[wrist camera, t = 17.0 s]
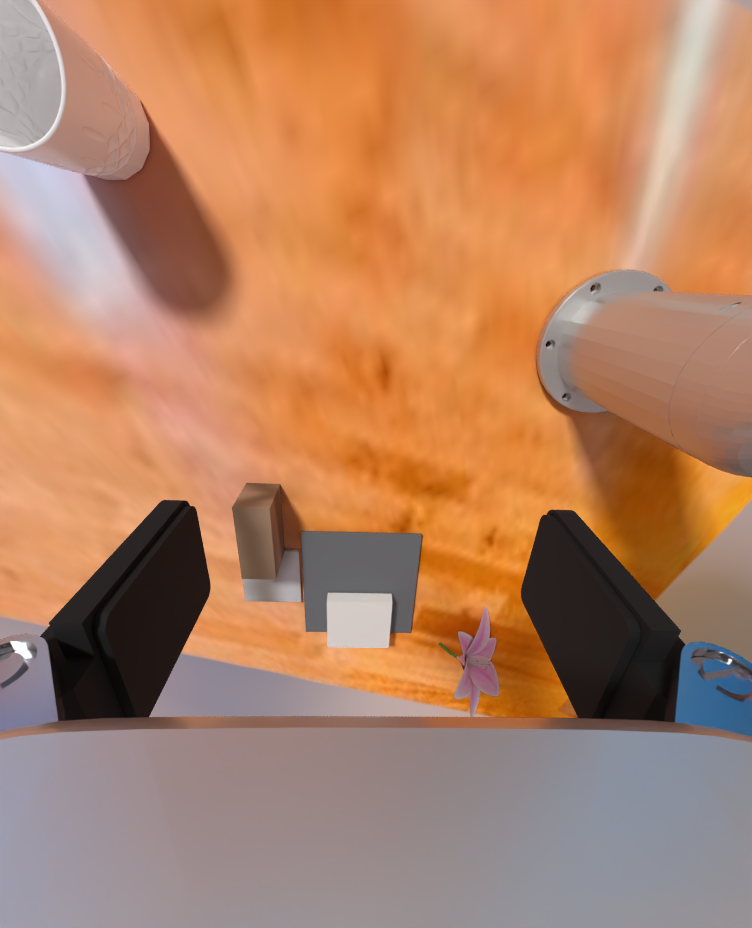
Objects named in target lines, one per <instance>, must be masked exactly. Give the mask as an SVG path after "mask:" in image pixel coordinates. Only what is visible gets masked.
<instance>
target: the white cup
mask: <svg viewBox="0 0 752 928" xmlns="http://www.w3.org/2000/svg"><path fill="white" fill-rule="evenodd" d="M149 151H150V134H149V123H148V120H147V118H146V115H145V113H144V110H143V107H142V105H141V102H140V100H139V98H138V96H137V95H136V94H135V93H134V92H133V90H132V89H131V88H130V87H129V86H128V84H127V83H126V82H125V81H124V79H123V78H122V77H121V76H120V75H119V74H118V73H117V72H116V71H115V70H114V69H113V68H111V67H110V65H109V64H108V63H107V62H106V61H105V60H104V59H103V58H102V57H101V56H100V55H99V54H98V53H97V52H96V51H95V50H94V49H93V48H92V47H91V46H90V45H89V44H88V43H87V42H86V41H85V40H84V39H83V38H82V37H81V36H80V35H79V34H78V33H77V32H76V31H75V30H74V29H73V28H72V27H71V26H70V25H69V24H67V23H66V22H65V21H64V20H63V19H62V18H61V17H60V16H59V15H58V14H57V13H56V12H55V11H54V10H52V9H51V8H50V7H49V6H48V5H47V4H46V3H45V2H44V1H43V0H0V152H4V153H7V154H11V155H15V156H18V157H22V158H25V159H29V160H32V161H35V162H39V163H42V164H46V165H49V166H53V167H56V168H60V169H64V170H69V171H72V172H76V173H80V174H85V175H92V176H95V177H99V178H102V179H105V180H126V179H128V178H129V177H131V176H132V175H134V174H135V173H137V172H138V171H140V170H141V169H142V167H143V165H144V163H145V160H146V158H147V156H148V153H149Z"/></svg>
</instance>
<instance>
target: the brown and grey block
mask: <svg viewBox="0 0 752 928" xmlns="http://www.w3.org/2000/svg"><path fill="white" fill-rule="evenodd" d="M232 510H233V517H234V525H235V532H236V539H237V546H238V553H239V561H240V568H241V575H242V579H243V586H244V593H245V600H246V601H275V602H301V601H302V594H301V575H300V556H299V549H285V545H284V531H283V518H282V504H281V490H280V484H260V483H246V485H245V487H244V488H243V490H242V492H241V493H240V495H239V497H238V499H237V500H236V502H235V504H234V505H233V507H232Z"/></svg>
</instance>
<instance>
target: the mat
mask: <svg viewBox="0 0 752 928" xmlns="http://www.w3.org/2000/svg"><path fill="white" fill-rule="evenodd" d="M421 539H422V534H413V533H368V532H323V531H301V543H302V563H303V582H304V601H305V621H306V632H327V596H328V593H382V594H392V614H391V626H390V633H411V625H412V616H413V608H414V599H415V591H416V582H417V574H418V565H419V556H420V548H421Z"/></svg>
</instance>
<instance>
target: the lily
mask: <svg viewBox="0 0 752 928" xmlns="http://www.w3.org/2000/svg"><path fill="white" fill-rule="evenodd" d="M458 636H459V641H460V645H461V649H462V653H463V655H462V656H457V655H455V654H453V653H452V652H450V651H449V650H448V649H447V648H445V647H444V646H443V645H442V644H441V643H439V645H440V646H441V647H442V648H443V649H444V650H446V651H447V652H448V653H449V654H451V655H452V656H454V657H456V658H457V659H459V660H460V662H461V665H462V667H463V670H464V672H463V675H462V677H461V679H460V682H459V684H458V686H457V688H456V691H455V694H454V698H455V699H463V698H466V697H468V696H469V698H470V715H471V717H474V715H475V712H476V709H477V705H478V702H479V697H480V691H482V692H483V693H485V694H487V695H490V696H494V697H497V696H498V695H499V682H498V677H497V672H496V669H495V667H494V665H493V663H492V662H491V661H490V660H491V658H492V656H493V653H494V650H495V647H496V642H497V640H496V638H489V636H490V621H489V614H488V609H487V607H486V606H485V608H484V612H483V616H482V619H481V623H480V626H479V629H478V631H477V634H476V636H475V638H474V640H473V638H472V636H470V635H469V634H467V633H465V632H461V631H459V632H458ZM470 645H471V646H470ZM468 648H469V649H468ZM467 649H468V651H467Z"/></svg>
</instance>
